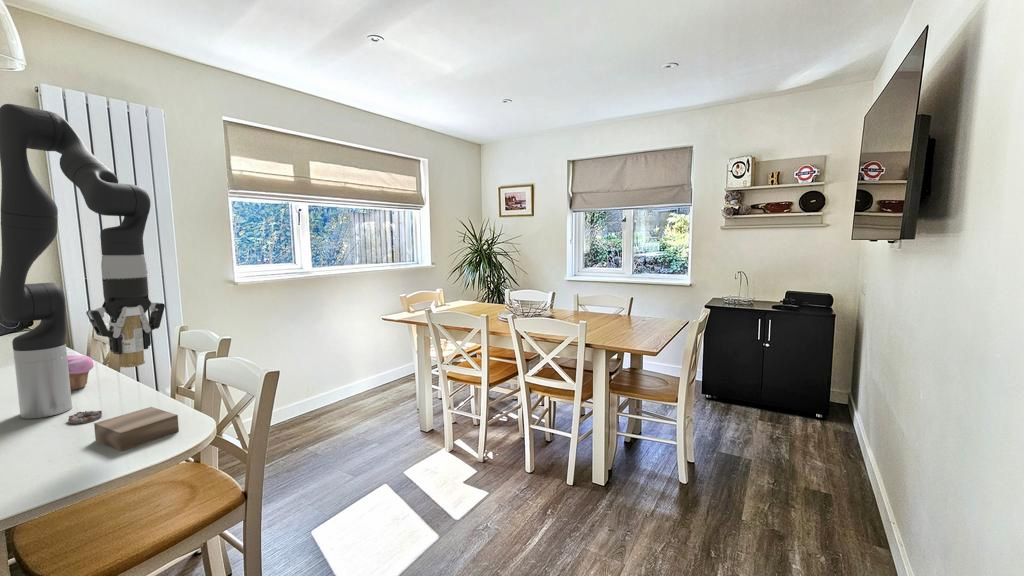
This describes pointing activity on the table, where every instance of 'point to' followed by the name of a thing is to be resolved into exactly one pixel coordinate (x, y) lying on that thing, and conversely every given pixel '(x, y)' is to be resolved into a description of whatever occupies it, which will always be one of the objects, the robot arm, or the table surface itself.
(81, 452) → the table surface
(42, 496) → the table surface
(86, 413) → the donut
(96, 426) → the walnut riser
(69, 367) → the cupcake
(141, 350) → the sprinkles bottle
